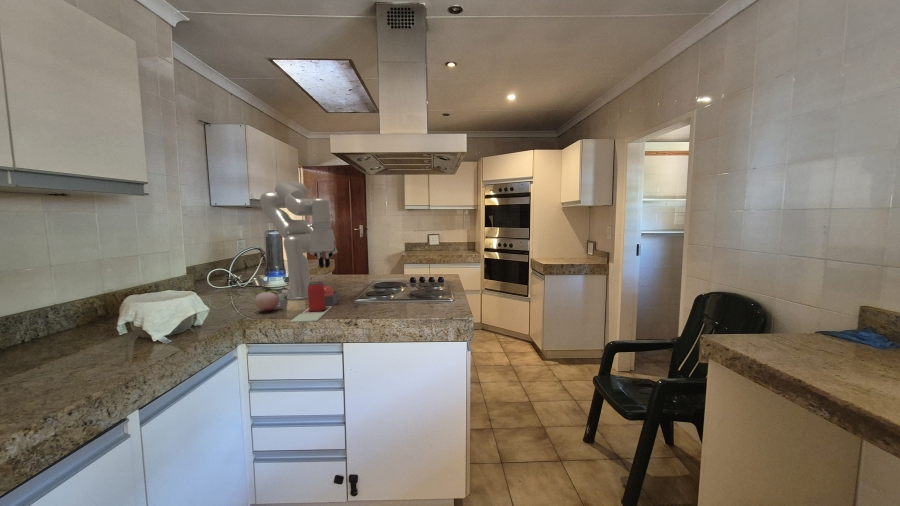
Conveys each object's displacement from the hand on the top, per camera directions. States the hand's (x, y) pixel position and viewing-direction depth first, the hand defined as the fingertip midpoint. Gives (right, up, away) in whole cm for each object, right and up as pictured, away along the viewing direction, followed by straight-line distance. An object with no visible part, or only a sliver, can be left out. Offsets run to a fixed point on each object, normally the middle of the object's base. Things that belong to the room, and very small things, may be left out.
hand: (324, 267), depth 151 cm
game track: (0, -18, -9) cm, 20 cm away
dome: (0, -15, +2) cm, 15 cm away
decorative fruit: (-21, -19, -8) cm, 29 cm away
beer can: (0, -18, -8) cm, 20 cm away
